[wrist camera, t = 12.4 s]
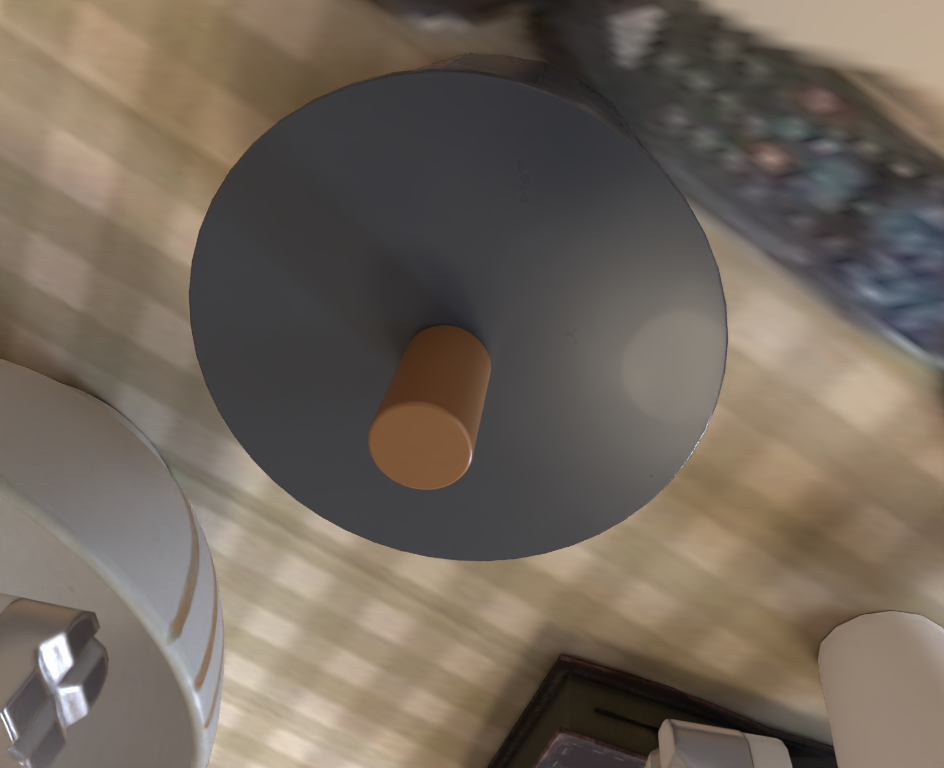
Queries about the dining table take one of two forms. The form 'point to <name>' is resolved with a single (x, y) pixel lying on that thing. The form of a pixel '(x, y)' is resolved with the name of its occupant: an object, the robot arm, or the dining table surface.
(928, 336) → the dining table surface
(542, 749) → the diary
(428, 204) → the lid
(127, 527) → the decorative bowl
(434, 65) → the pot
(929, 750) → the foam cup
